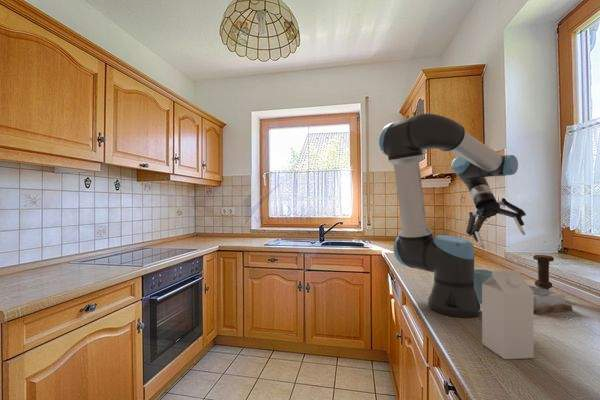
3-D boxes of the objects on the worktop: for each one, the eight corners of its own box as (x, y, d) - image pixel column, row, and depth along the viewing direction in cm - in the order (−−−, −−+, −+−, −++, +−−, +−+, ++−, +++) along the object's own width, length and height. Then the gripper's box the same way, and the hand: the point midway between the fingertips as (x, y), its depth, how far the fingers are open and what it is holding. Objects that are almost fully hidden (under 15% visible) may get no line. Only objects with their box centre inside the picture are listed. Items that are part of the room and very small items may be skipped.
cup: (489, 297, 107) (489, 269, 107) (501, 305, 100) (501, 274, 100) (467, 297, 108) (467, 268, 108) (477, 304, 101) (477, 274, 101)
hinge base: (535, 314, 92) (535, 298, 92) (496, 299, 105) (496, 285, 105) (572, 310, 95) (572, 294, 95) (529, 296, 109) (529, 283, 109)
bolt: (556, 299, 106) (556, 257, 106) (540, 298, 107) (540, 257, 107) (546, 294, 112) (546, 254, 112) (531, 293, 113) (531, 254, 113)
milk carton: (481, 344, 72) (481, 267, 73) (508, 343, 73) (508, 267, 73) (504, 360, 65) (504, 274, 65) (534, 358, 66) (533, 274, 66)
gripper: (520, 189, 115) (545, 231, 101) (458, 215, 130) (471, 256, 115) (512, 178, 112) (537, 220, 97) (449, 207, 127) (462, 247, 112)
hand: (502, 240), depth 106 cm, fingers open, 13 cm apart
